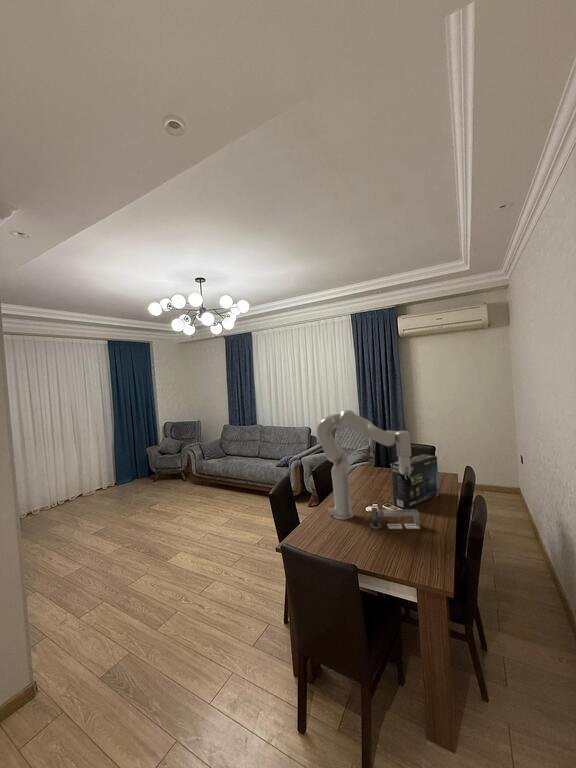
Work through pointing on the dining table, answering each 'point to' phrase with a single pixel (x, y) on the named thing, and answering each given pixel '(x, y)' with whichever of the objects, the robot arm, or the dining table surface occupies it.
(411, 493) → the router box
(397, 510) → the cable arm
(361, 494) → the dining table surface
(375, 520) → the post
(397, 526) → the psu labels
